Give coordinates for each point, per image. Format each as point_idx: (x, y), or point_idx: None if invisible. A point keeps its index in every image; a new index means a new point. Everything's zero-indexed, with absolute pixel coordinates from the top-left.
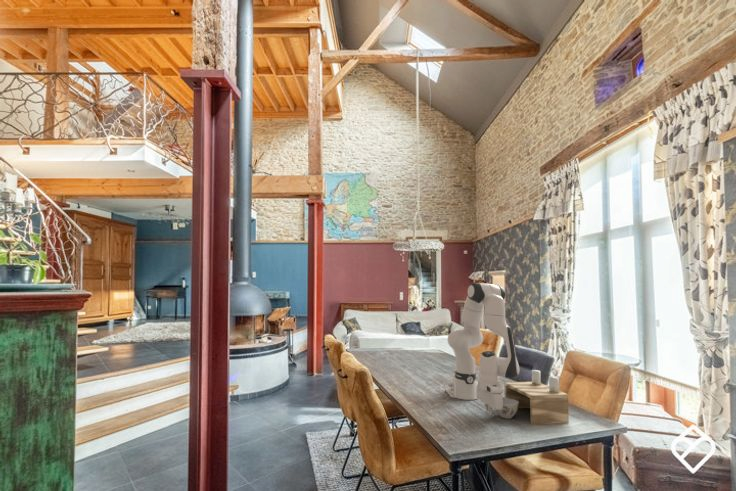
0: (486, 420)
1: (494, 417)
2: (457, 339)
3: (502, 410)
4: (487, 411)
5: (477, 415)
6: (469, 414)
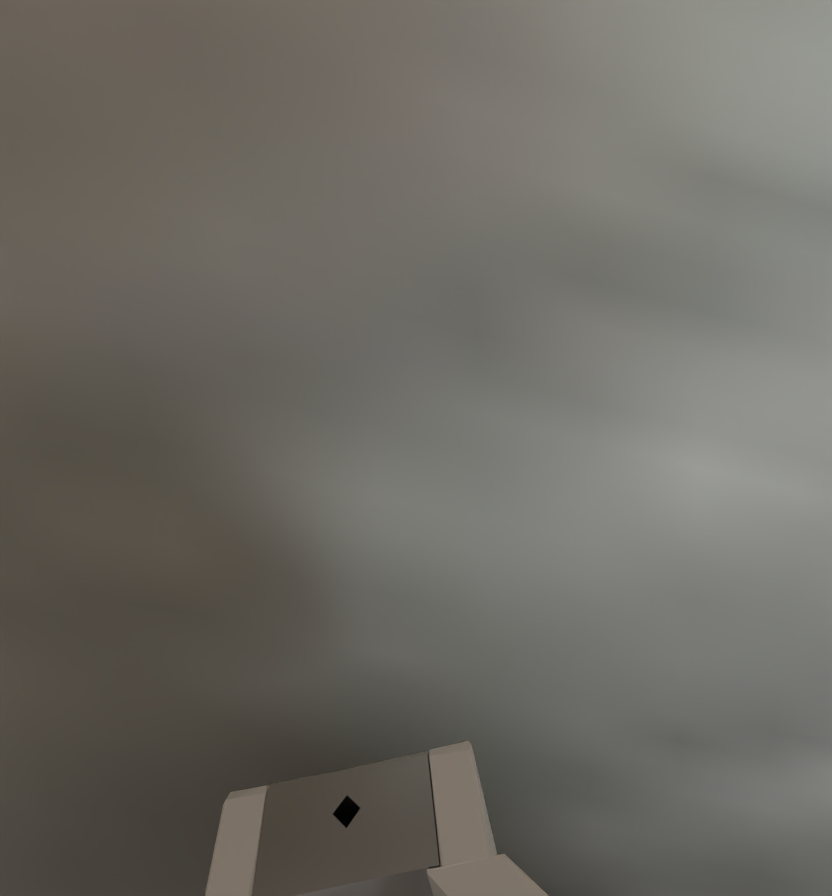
0: (37, 556)
1: None
2: None
3: None
4: (308, 825)
5: (551, 359)
6: (677, 18)
